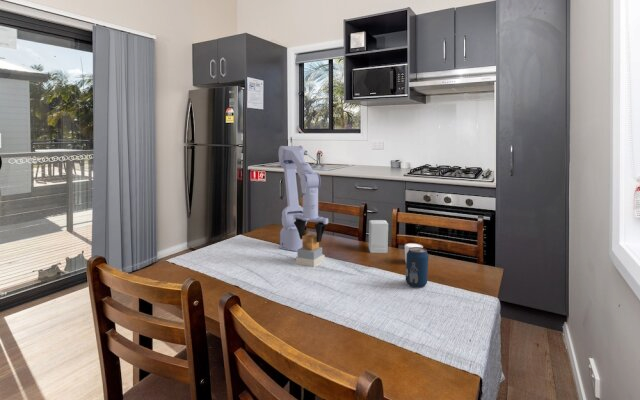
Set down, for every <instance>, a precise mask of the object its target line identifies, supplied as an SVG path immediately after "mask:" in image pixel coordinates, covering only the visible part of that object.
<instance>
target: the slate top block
mask: <svg viewBox="0 0 640 400" xmlns="http://www.w3.org/2000/svg"><path fill="white" fill-rule="evenodd" d="M296 252H297V256H298V257H299V258H305V259H311V260H315V259H316V258H318V257H319V256H321V255H322V254H323V247H321V246H319V248H317V249H315V250H313V251H311V250H306V249H303V247H302V248H300V249H298V250H297V251H296Z"/></svg>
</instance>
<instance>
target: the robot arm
mask: <svg viewBox="0 0 640 400" xmlns="http://www.w3.org/2000/svg"><path fill="white" fill-rule="evenodd" d="M304 158H305V149H304V146H302V145H279V148H278V162H279V163H278V164H279V166H280V167H282V169H283V173H284V182H285V191H286V192H285V193H286V200H287V201H286V202H287V206H285V208H284V209H283V210H282V212H281V224H282V228H281V229H280V232H279V242H280V243H279V247H278V248H279V249H281V250H286V251H287V250H289V251H292V252H297V250H298V249H300V248H302V236H304V235H306V226H307V223H308V222H309V223H310V222H311V223H314V228H315V231H316V233H315V235H317V242H319V243H320V242H322V240H323V239H322V238H323V234H324V232H325V229H326V228H327V226H328V224H329V218H328V217H323V216H320V215H319V189H320V187H321V185H322V184H321V183H322V179H321V175H320V173H319V172H316V171H315V170H313V168H312V166H311V164H310V163H308V162H307V161H305V159H304ZM297 175H298V177H299V178H300V186H301V193H302V206H301V205H300V204H299V203H300V202H299V193H298V183H297ZM315 223H316V224H315Z"/></svg>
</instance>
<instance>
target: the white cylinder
mask: <svg viewBox="0 0 640 400" xmlns="http://www.w3.org/2000/svg"><path fill="white" fill-rule="evenodd" d="M411 247H421V248H424V246H423V245H422V244H420V243H415V242H414V243H412V242H411V243H410V242H409V243H405V244H404V260H405V264H406V259H407V252H408V251H409V248H411Z"/></svg>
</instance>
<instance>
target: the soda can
mask: <svg viewBox="0 0 640 400" xmlns="http://www.w3.org/2000/svg"><path fill="white" fill-rule="evenodd" d="M428 271H429V253H428V250H427V248H424V247H423V248H421V247H411V248H409V251H408V252H407V259H406V263H405V282H406V284H407V285H408V286H409V287H410V288H414V289H415V288H416V289H420V288H422V289H423V288H425V286H426V285H427V284H428V277H429V276H428V273H429V272H428Z"/></svg>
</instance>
